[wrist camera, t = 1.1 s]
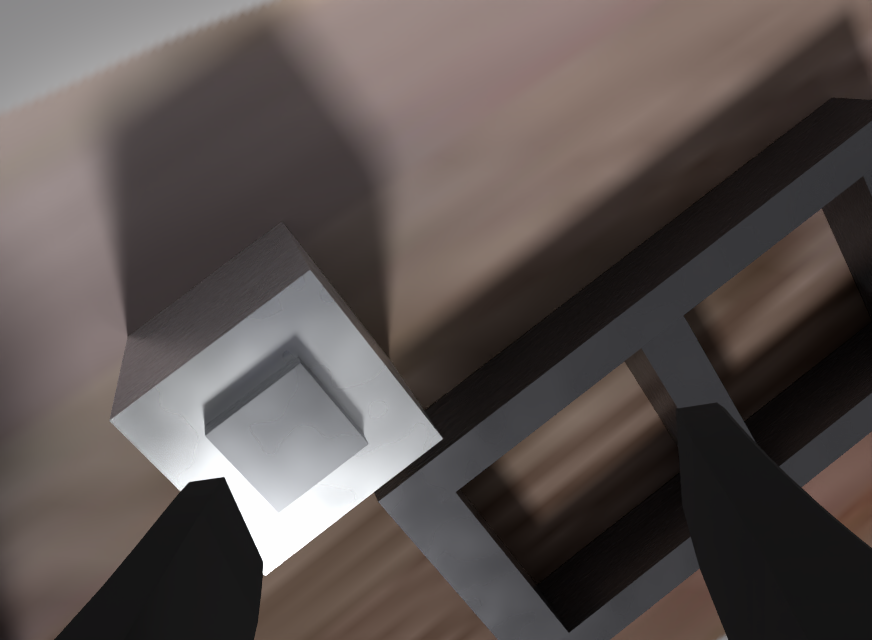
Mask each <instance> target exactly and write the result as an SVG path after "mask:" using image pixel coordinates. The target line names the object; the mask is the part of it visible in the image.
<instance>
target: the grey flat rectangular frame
mask: <svg viewBox="0 0 872 640" xmlns="http://www.w3.org/2000/svg"><path fill="white" fill-rule="evenodd" d="M821 208H822V209H823V211H824V214H825V216H826V218H827V220H828V223H829V225H830V227H831V229H832V231H833V234H834V236H835V238H836V240H837V243H838V245H839V247H840V249H841V252H842V254H843V256H844V258H845V260H846V263H847V265H848V267H849V269H850V272H851V274H852V276H853V278H854V280H855V283H856V285H857V287H858V289H859V292H860V294H861V296H862V298H863V301H864V303H865V305H866V307H867V309H868V312H869V314H870V316H871V318H872V100H862V99H845V98H831V99H830V100H829V101H827V102H826V103H825V104H823V105H822V106H821V107H820V108H818V109H817V110H816V111H814V112H813V113H812V114H810V115H809V116H808V117H807V118H805V119H804V120H803V121H801V122H800V123H799V124H797V125H796V126H795V127H794V128H792V129H791V130H790V131H788V132H787V133H786V134H784V135H783V136H782V137H780V138H779V139H778V140H777V141H775V142H774V143H773V144H771V145H770V146H769V147H767V148H766V149H765V150H764V151H762V152H761V153H760V154H758V155H757V156H756V157H754V158H753V159H752V160H751V161H749V162H748V163H747V164H745V165H744V166H743V167H741V168H740V169H739V170H738V171H736V172H735V173H734V174H732V175H731V176H730V177H728V178H727V179H726V180H725V181H723V182H722V183H721V184H719V185H718V186H717V187H715V188H714V189H713V190H711V191H710V192H709V193H708V194H706V195H705V196H704V197H702V198H701V199H700V200H698V201H697V202H696V203H695V204H693V205H692V206H691V207H689V208H688V209H687V210H685V211H684V212H683V213H682V214H680V215H679V216H678V217H676V218H675V219H674V220H672V221H671V222H670V223H669V224H667V225H666V226H665V227H663V228H662V229H661V230H659V231H658V232H657V233H655V234H654V235H653V236H652V237H650V238H649V239H648V240H646V241H645V242H644V243H642V244H641V245H640V246H639V247H637V248H636V249H635V250H633V251H632V252H631V253H629V254H628V255H627V256H626V257H624V258H623V259H622V260H620V261H619V262H618V263H616V264H615V265H614V266H613V267H611V268H610V269H609V270H607V271H606V272H605V273H603V274H602V275H601V276H599V277H598V278H597V279H596V280H594V281H593V282H592V283H590V284H589V285H588V286H586V287H585V288H584V289H583V290H581V291H580V292H579V293H577V294H576V295H575V296H573V297H572V298H571V299H570V300H568V301H567V302H566V303H564V304H563V305H562V306H560V307H559V308H558V309H557V310H555V311H554V312H553V313H551V314H550V315H549V316H547V317H546V318H545V319H544V320H542V321H541V322H540V323H538V324H537V325H536V326H534V327H533V328H532V329H530V330H529V331H528V332H527V333H525V334H524V335H523V336H521V337H520V338H519V339H517V340H516V341H515V342H514V343H512V344H511V345H510V346H508V347H507V348H506V349H504V350H503V351H502V352H501V353H499V354H498V355H497V356H495V357H494V358H493V359H491V360H490V361H489V362H488V363H486V364H485V365H484V366H482V367H481V368H480V369H478V370H477V371H476V372H474V373H473V374H472V375H471V376H469V377H468V378H467V379H465V380H464V381H463V382H461V383H460V384H459V385H458V386H456V387H455V388H454V389H452V390H451V391H450V392H448V393H447V394H446V395H445V396H443V397H442V398H441V399H439V400H438V401H437V402H435V403H434V404H433V405H432V406H430V407H429V408H428V409H426V410H425V413H426V414H427V416H428V417H429V419H430V420H431V422H432V423H433V425H434V426H435V428H436V429H437V431H438V432H439V434H440V435H441V437H442V438H443V439H442V440H441V441H439V442H438V443H437V444H436V445H434V446H433V447H432V448H430V449H429V450H428V451H426V452H425V453H424V454H423V455H421V456H420V457H419V458H417V459H416V460H415V461H413V462H412V463H411V464H410V465H408V466H407V467H406V468H404V469H403V470H402V471H401V472H399V473H398V474H397V475H395V476H394V477H393V478H391V479H390V480H389V481H388V482H386V483H385V484H384V485H382V486H381V487H380V488H378V489H377V490H376V491H375V492H374V493H375V495H376V498H377V500H378V502H379V503H380V504H381V505H382V507H383V508H384V509H385V510H386V511H387V512H388V514H389V515H390V516H391V517H392V518H393V519H394V520H395V522H396V523H397V524H398V525H399V526H400V527H401V529H402V530H403V531H404V532H405V533H406V534H407V535H408V537H409V538H410V539H411V540H412V541H413V542H414V543H415V545H416V546H417V547H418V548H419V549H420V550H421V552H422V553H423V554H424V555H425V556H426V557H427V558H428V560H429V561H430V562H431V563H432V564H433V565H434V567H435V568H436V569H437V570H438V571H439V572H440V573H441V575H442V576H443V577H444V578H445V579H446V580H447V581H448V583H449V584H450V585H451V586H452V587H453V588H454V590H455V591H456V592H457V593H458V594H459V595H460V596H461V598H462V599H463V600H464V601H465V602H466V603H467V605H468V606H469V607H470V608H471V609H472V610H473V611H474V613H475V614H476V615H477V616H478V617H479V618H480V619H481V621H482V622H483V623H484V624H485V625H486V626H487V628H488V629H489V630H490V631H491V632H492V633H493V634H494V636H495V637H496V638H497V639H498V640H610V639H611V638H613V637H614V636H615V635H616V634H618V633H619V632H620V631H621V630H623V629H624V628H625V627H626V626H628V625H629V624H630V623H631V622H633V621H634V620H635V619H636V618H638V617H639V616H640V615H641V614H643V613H644V612H645V611H646V610H648V609H649V608H650V607H651V606H653V605H654V604H655V603H657V602H658V601H659V600H660V599H662V598H663V597H664V596H665V595H667V594H668V593H669V592H670V591H672V590H673V589H674V588H675V587H677V586H678V585H679V584H680V583H682V582H683V581H684V580H685V579H687V578H688V577H689V576H690V575H692V574H693V573H694V572H695V571H697V570H698V569H699V568H700V567H699V564H698V561H697V557H696V554H695V550H694V547H693V543H692V540H691V536H690V532H689V529H688V525H687V521H686V517H685V514H684V510H683V506H682V495H681V480H680V473H679V474H678V475H677V476H675V477H674V478H673V479H672V480H670V481H669V482H668V483H666V484H665V485H664V486H663V487H661V488H660V489H659V490H658V491H656V492H655V493H654V494H652V495H651V496H650V497H649V498H647V499H646V500H645V501H644V502H642V503H641V504H640V505H638V506H637V507H636V508H635V509H633V510H632V511H631V512H630V513H628V514H627V515H626V516H625V517H623V518H622V519H621V520H619V521H618V522H617V523H616V524H614V525H613V526H612V527H611V528H609V529H608V530H607V531H605V532H604V533H603V534H602V535H600V536H599V537H598V538H597V539H595V540H594V541H593V542H591V543H590V544H589V545H588V546H586V547H585V548H584V549H583V550H581V551H580V552H579V553H578V554H576V555H575V556H574V557H572V558H571V559H570V560H569V561H567V562H566V563H565V564H564V565H562V566H561V567H560V568H558V569H557V570H556V571H555V572H553V573H552V574H551V575H550V576H548V577H547V578H546V579H544V580H543V581H542V582H541V583H539V584H538V585H536V583H535V582H534V581H533V580H532V578H531V577H530V576H529V575H528V573H527V572H526V571H525V570H524V568H523V567H522V566H521V565H520V563H519V562H518V561H517V560H516V558H515V557H514V556H513V555H512V553H511V552H510V551H509V550H508V548H507V547H506V546H505V545H504V543H503V542H502V541H501V540H500V538H499V537H498V536H497V535H496V533H495V532H494V531H493V530H492V528H491V527H490V526H489V525H488V523H487V522H486V521H485V520H484V518H483V517H482V516H481V515H480V513H479V512H478V511H477V510H476V508H475V507H474V506H473V505H472V503H471V502H470V501H469V500H468V498H467V497H466V496H465V495H464V494H463V492H462V491H461V490H460V488H461V487H463V486H464V485H465V484H467V483H468V482H469V481H471V480H472V479H473V478H474V477H476V476H477V475H478V474H480V473H481V472H482V471H483V470H485V469H486V468H487V467H489V466H490V465H491V464H492V463H494V462H495V461H496V460H498V459H499V458H500V457H501V456H503V455H504V454H505V453H507V452H508V451H509V450H510V449H512V448H513V447H514V446H516V445H517V444H518V443H520V442H521V441H522V440H523V439H525V438H526V437H527V436H529V435H530V434H531V433H532V432H534V431H535V430H536V429H538V428H539V427H540V426H541V425H543V424H544V423H545V422H547V421H548V420H549V419H550V418H552V417H553V416H554V415H556V414H557V413H558V412H559V411H561V410H562V409H563V408H565V407H566V406H567V405H569V404H570V403H571V402H572V401H574V400H575V399H576V398H578V397H579V396H580V395H581V394H583V393H584V392H585V391H587V390H588V389H589V388H590V387H592V386H593V385H594V384H596V383H597V382H598V381H599V380H601V379H602V378H603V377H605V376H606V375H607V374H608V373H610V372H611V371H612V370H614V369H615V368H616V367H617V366H619V365H620V364H621V363H623V362H624V361H625V363H626V364H627V366H628V367H629V369H630V371H631V372H632V374H633V375H634V377H635V379H636V380H637V382H638V383H639V385H640V387H641V388H642V390H643V391H644V393H645V395H646V396H647V398H648V399H649V401H650V403H651V404H652V406H653V407H654V409H655V411H656V412H657V414H658V415H659V417H660V419H661V420H662V422H663V423H664V425H665V427H666V428H667V430H668V431H669V433H670V435H671V436H672V438H673V439H674V441H675V443H676V444H677V446H678V435H677V420H676V408H683V407H690V406H696V405H703V404H710V403H716V402H717V403H718V404H720V405H721V406H723V407H724V408H725V409H726V410H727V411H728V412H729V414H730V415H731V416H732V417H733V418H734V419H735V420H736V422H737V423H738V424H739V425H740V426H741V427H742V428H743V429H744V431H745V432H746V433H747V434H748V435H749V436H750V437H751V438H752V439H753V440H754V441H755V442H756V443H757V444H758V446H759V447H760V448H761V449H762V450H763V451H764V452H765V453H766V454H767V455H768V456H769V457H770V458H771V459H772V460H773V461H774V462H775V463H776V464H777V465H778V466H779V467H780V468H781V469H782V470H783V471H784V472H785V473H786V474H787V475H788V476H789V477H791V478H792V479H793V480H794V481H795V482H796V483H797V484H798V485H799V486H800V487H802V486H804V485H805V484H806V483H807V482H809V481H810V480H811V479H812V478H814V477H815V476H816V475H817V474H819V473H820V472H821V471H822V470H824V469H825V468H826V467H827V466H829V465H830V464H831V463H833V462H834V461H835V460H836V459H838V458H839V457H840V456H841V455H843V454H844V453H845V452H846V451H848V450H849V449H850V448H851V447H853V446H854V445H855V444H856V443H858V442H859V441H860V440H861V439H863V438H864V437H865V436H866V435H868V434H869V433H870V432H871V431H872V322H871V323H870V324H868V325H867V326H866V327H865V328H863V329H862V330H861V331H860V332H858V333H857V334H856V335H854V336H853V337H852V338H851V339H849V340H848V341H847V342H846V343H844V344H843V345H842V346H840V347H839V348H838V349H837V350H835V351H834V352H833V353H832V354H830V355H829V356H828V357H826V358H825V359H824V360H823V361H821V362H820V363H819V364H818V365H816V366H815V367H814V368H813V369H811V370H810V371H809V372H807V373H806V374H805V375H804V376H802V377H801V378H800V379H799V380H797V381H796V382H795V383H793V384H792V385H791V386H790V387H788V388H787V389H786V390H785V391H783V392H782V393H781V394H779V395H778V396H777V397H776V398H774V399H773V400H772V401H771V402H769V403H768V404H767V405H766V406H764V407H763V408H762V409H760V410H759V411H758V412H757V413H755V414H754V415H753V416H752V417H750V418H749V419H748V420H746V421H745V422H744V421H743V419H742V417H741V416H740V414H739V412H738V410H737V409H736V407H735V405H734V403H733V402H732V400H731V398H730V396H729V395H728V393H727V391H726V389H725V388H724V386H723V384H722V382H721V381H720V379H719V377H718V375H717V373H716V372H715V370H714V368H713V366H712V365H711V363H710V361H709V359H708V358H707V356H706V354H705V352H704V351H703V349H702V347H701V345H700V344H699V342H698V340H697V338H696V337H695V335H694V333H693V331H692V330H691V328H690V326H689V324H688V322H687V321H686V319H685V317H684V315H685V314H686V313H687V312H688V311H690V310H691V309H692V308H694V307H695V306H696V305H697V304H699V303H700V302H701V301H703V300H704V299H705V298H706V297H708V296H709V295H710V294H712V293H713V292H714V291H715V290H717V289H718V288H719V287H721V286H722V285H723V284H724V283H726V282H727V281H728V280H730V279H731V278H732V277H734V276H735V275H736V274H737V273H739V272H740V271H741V270H743V269H744V268H745V267H746V266H748V265H749V264H750V263H752V262H753V261H754V260H755V259H757V258H758V257H759V256H761V255H762V254H763V253H764V252H766V251H767V250H768V249H770V248H771V247H772V246H773V245H775V244H776V243H777V242H779V241H780V240H781V239H783V238H784V237H785V236H786V235H788V234H789V233H790V232H792V231H793V230H794V229H795V228H797V227H798V226H799V225H801V224H802V223H803V222H804V221H806V220H807V219H808V218H810V217H811V216H812V215H813V214H815V213H816V212H817V211H819V210H820V209H821Z"/></svg>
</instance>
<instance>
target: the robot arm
mask: <svg viewBox="0 0 872 640" xmlns="http://www.w3.org/2000/svg"><path fill="white" fill-rule="evenodd" d="M676 420H677V435H678V450H679V465H680V480H681V495H682V506H683V510H684V514H685V517H686V521H687V525H688V529H689V532H690V536H691V540H692V543H693V547H694V550H695V554H696V557H697V561H698V564H699V567H700V570H701V573H702V575H703V578H704V580H705V583H706V585H707V588H708V590H709V593H710V595H711V598H712V600H713V603H714V605H715V608H716V610H717V613H718V615H719V618H720V620H721V623H722V625H723V628H724V630H725V633H726V635H727V637H728V640H872V548H871V547H870V546H868V545H867V544H866V543H865V542H863V541H862V540H861V539H860V538H858V537H857V536H856V535H855V534H854V533H852V532H851V531H850V530H849V529H848V528H846V527H845V526H844V525H843V524H842V523H841V522H839V521H838V520H837V519H836V518H835V517H833V516H832V515H831V514H830V513H829V512H828V511H827V510H825V509H824V508H823V507H822V506H821V505H820V504H819V503H817V502H816V501H815V500H814V499H813V498H812V497H811V496H810V495H809V494H808V493H807V492H806V491H804V490H803V489H802V488H801V487H800V486H799V485H798V484H797V483H796V482H795V481H794V480H793V479H792V478H791V477H789V476H788V475H787V474H786V473H785V472H784V471H783V470H782V469H781V468H780V467H779V466H778V465H777V464H776V463H775V462H774V461H773V460H772V459H771V458H770V457H769V456H768V455H767V454H766V453H765V452H764V451H763V450H762V449H761V448H760V447H759V446H758V444H757V443H756V442H755V441H754V440H753V439H752V438H751V437H750V436H749V435H748V434H747V433H746V432H745V431H744V429H743V428H742V427H741V426H740V425H739V424H738V423H737V422H736V420H735V419H734V418H733V417H732V416H731V415H730V414H729V412H728V411H727V410H726V409H725V408H724V407H723V406H721V405H720V404H718V403H717V402H716V403H710V404H703V405H696V406H690V407H683V408H676ZM263 567H264V562H263V560H262V557H261V555H260V553H259V551H258V549H257V547H256V544H255V542H254V540H253V538H252V536H251V534H250V531H249V529H248V527H247V525H246V523H245V521H244V518H243V516H242V514H241V512H240V510H239V508H238V505H237V503H236V501H235V499H234V497H233V494H232V492H231V490H230V488H229V486H228V484H227V481H226V479H225V477H219V478H212V479H206V480H199V481H193V482H189V483H188V484H187V485H186V486H185V487H184V488H183V489H182V491H181V492H180V493H179V494H178V495H177V496H176V498H175V499H174V500H173V501H172V502H171V504H170V505H169V506H168V507H167V509H166V510H165V511H164V512H163V513H162V515H161V516H160V517H159V518H158V520H157V521H156V522H155V523H154V525H153V526H152V527H151V528H150V530H149V531H148V532H147V533H146V534H145V536H144V537H143V538H142V539H141V541H140V542H139V543H138V544H137V546H136V547H135V548H134V549H133V550H132V552H131V553H130V554H129V555H128V556H127V558H126V559H125V560H124V561H123V562H122V564H121V565H120V566H119V567H118V568H117V570H116V571H115V572H114V573H113V574H112V576H111V577H110V578H109V579H108V580H107V582H106V583H105V584H104V585H103V586H102V587H101V588H100V590H99V591H98V592H97V593H96V594H95V595H94V596H93V597H92V598H91V600H90V601H89V602H88V603H87V604H86V605H85V606H84V607H83V608H82V610H81V611H80V612H79V613H78V614H77V615H76V616H75V617H74V618H73V620H72V621H71V622H70V623H69V624H68V625H67V626H66V627H65V628H64V630H63V631H62V632H61V633H60V634H59V635H58V636H57V637H56V638H55V639H54V640H254V636H255V632H256V627H257V623H258V615H259V607H260V599H261V589H262V578H263Z"/></svg>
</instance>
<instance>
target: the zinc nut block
mask: <svg viewBox="0 0 872 640" xmlns="http://www.w3.org/2000/svg"><path fill="white" fill-rule="evenodd" d="M109 421H110V422H111V423H112V424H113V425H114V426H115V427H116V428H117V429H118V430H119V431H120V432H121V433H122V434H123V435H124V436H125V437H126V438H127V439H128V440H129V441H131V442H132V443H133V444H134V445H135V446H136V447H137V448H138V449H139V450H140V451H141V452H142V453H143V454H144V455H145V456H146V457H147V458H148V459H149V460H150V461H151V462H152V463H153V464H154V465H155V466H156V467H157V468H158V469H159V470H160V471H161V472H162V473H163V474H164V475H165V476H166V477H167V478H168V479H169V480H170V481H171V482H172V483H173V484H174V485H175V486H176V487H177V488H178V489H179V490H180V491H182V489H183V488H184V487H185V486H186V485H187V484H188V483H189V482H193V481H199V480H206V479H212V478H219V477H225V479H226V481H227V484H228V486H229V488H230V490H231V492H232V494H233V497H234V499H235V501H236V503H237V505H238V508H239V510H240V512H241V514H242V516H243V518H244V521H245V523H246V525H247V527H248V529H249V531H250V534H251V536H252V538H253V540H254V542H255V544H256V547H257V549H258V551H259V553H260V555H261V557H262V560H263V562H264V567H263V574H264V575H265V576H266V575H267V574H268V573H269V572H271V571H272V570H273V569H275V568H276V567H277V566H279V565H280V564H281V563H282V562H284V561H285V560H286V559H288V558H289V557H290V556H291V555H293V554H294V553H295V552H297V551H298V550H299V549H301V548H302V547H303V546H304V545H306V544H307V543H308V542H310V541H311V540H312V539H314V538H315V537H316V536H317V535H319V534H320V533H321V532H323V531H324V530H325V529H327V528H328V527H329V526H330V525H332V524H333V523H334V522H336V521H337V520H338V519H340V518H341V517H342V516H343V515H345V514H346V513H347V512H349V511H350V510H351V509H352V508H354V507H355V506H356V505H358V504H359V503H360V502H362V501H363V500H364V499H365V498H367V497H368V496H369V495H371V494H372V493H373V492H375V491H376V490H377V489H378V488H380V487H381V486H382V485H384V484H385V483H386V482H388V481H389V480H390V479H391V478H393V477H394V476H395V475H397V474H398V473H399V472H401V471H402V470H403V469H404V468H406V467H407V466H408V465H410V464H411V463H412V462H413V461H415V460H416V459H417V458H419V457H420V456H421V455H423V454H424V453H425V452H426V451H428V450H429V449H430V448H432V447H433V446H434V445H436V444H437V443H438V442H439V441H441V440H442V439H443V438H442V437H441V435H440V434H439V432H438V431H437V429H436V428H435V426H434V425H433V423H432V422H431V420H430V419H429V417H428V416H427V414H426V413H425V411H424V410H423V408H422V407H421V405H420V404H419V402H418V401H417V399H416V398H415V396H414V395H413V393H412V392H411V390H410V389H409V387H408V386H407V384H406V383H405V381H404V380H403V378H402V377H401V375H400V374H399V372H398V371H397V369H396V368H395V366H394V365H393V363H392V362H391V360H390V359H389V358H388V356H387V355H386V354H385V353H384V351H383V350H382V349H381V347H380V346H379V345H378V344H377V342H376V341H375V340H374V338H373V337H372V336H371V335H370V333H369V332H368V331H367V329H366V328H365V327H364V326H363V324H362V323H361V322H360V320H359V319H358V318H357V317H356V315H355V314H354V313H353V311H352V310H351V309H350V308H349V306H348V305H347V304H346V303H345V301H344V300H343V299H342V297H341V296H340V295H339V294H338V292H337V291H336V290H335V288H334V287H333V286H332V285H331V283H330V282H329V281H328V279H327V278H326V277H325V276H324V274H323V273H322V272H321V270H320V269H319V268H318V267H317V265H316V264H315V263H314V261H313V260H312V259H311V258H310V256H309V255H308V254H307V252H306V251H305V250H304V249H303V247H302V246H301V245H300V244H299V242H298V241H297V240H296V238H295V237H294V236H293V235H292V233H291V232H290V231H289V229H288V228H287V227H286V226H285V224H284V223H283V222H280V223H279V224H278V225H276V226H275V227H274V228H272V229H271V230H270V231H268V232H267V233H266V234H264V235H263V236H262V237H260V238H259V239H258V240H256V241H255V242H254V243H252V244H251V245H250V246H248V247H247V248H246V249H244V250H243V251H242V252H240V253H239V254H238V255H236V256H235V257H233V258H232V259H231V260H229V261H228V262H227V263H225V264H224V265H223V266H221V267H220V268H219V269H217V270H216V271H215V272H213V273H212V274H211V275H209V276H208V277H207V278H205V279H204V280H203V281H201V282H200V283H199V284H197V285H196V286H195V287H193V288H192V289H191V290H189V291H188V292H187V293H185V294H184V295H183V296H181V297H180V298H179V299H177V300H176V301H175V302H173V303H172V304H171V305H169V306H168V307H167V308H165V309H164V310H163V311H161V312H160V313H159V314H157V315H156V316H155V317H153V318H152V319H151V320H149V321H148V322H146V323H145V324H144V325H142V326H141V327H140V328H138V329H137V330H136V331H134V332H133V333H132V334H130V335H129V336H128V337H127V342H126V346H125V351H124V356H123V360H122V365H121V369H120V374H119V379H118V383H117V388H116V393H115V397H114V402H113V407H112V411H111V416H110V420H109Z"/></svg>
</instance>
